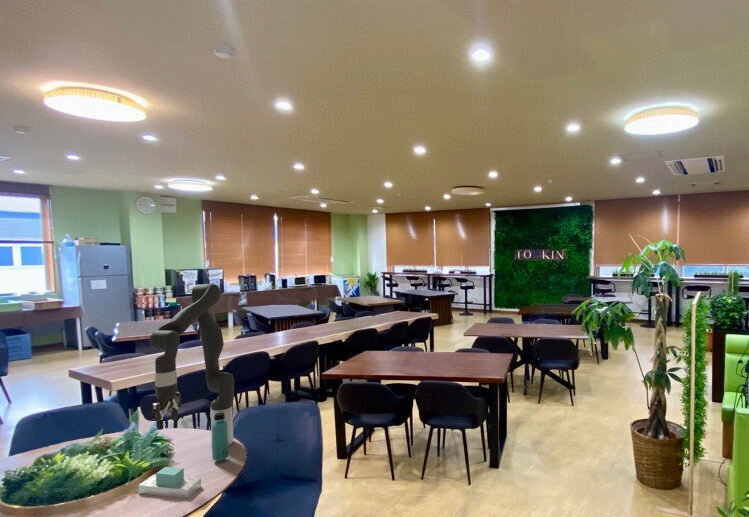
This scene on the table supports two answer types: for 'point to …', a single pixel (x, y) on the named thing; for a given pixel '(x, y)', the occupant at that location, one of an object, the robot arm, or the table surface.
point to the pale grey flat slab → (170, 487)
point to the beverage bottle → (219, 438)
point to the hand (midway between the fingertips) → (167, 424)
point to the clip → (169, 476)
